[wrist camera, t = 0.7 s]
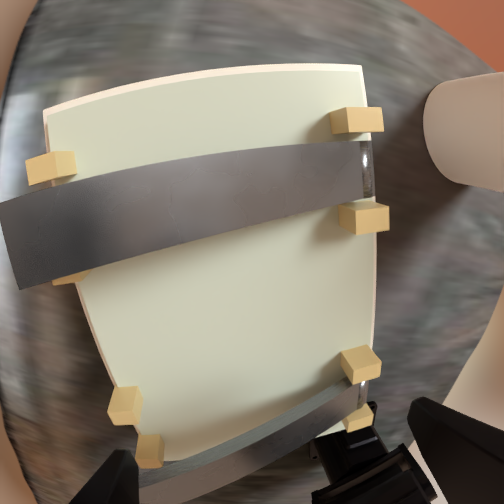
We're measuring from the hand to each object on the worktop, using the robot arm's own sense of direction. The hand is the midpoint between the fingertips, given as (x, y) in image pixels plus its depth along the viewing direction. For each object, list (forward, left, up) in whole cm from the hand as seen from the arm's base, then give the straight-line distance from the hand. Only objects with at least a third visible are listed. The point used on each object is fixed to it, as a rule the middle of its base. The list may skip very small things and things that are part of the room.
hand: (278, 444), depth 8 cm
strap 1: (+7, 0, -5) cm, 8 cm away
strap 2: (-5, 0, -5) cm, 7 cm away
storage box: (+1, 0, -13) cm, 13 cm away
